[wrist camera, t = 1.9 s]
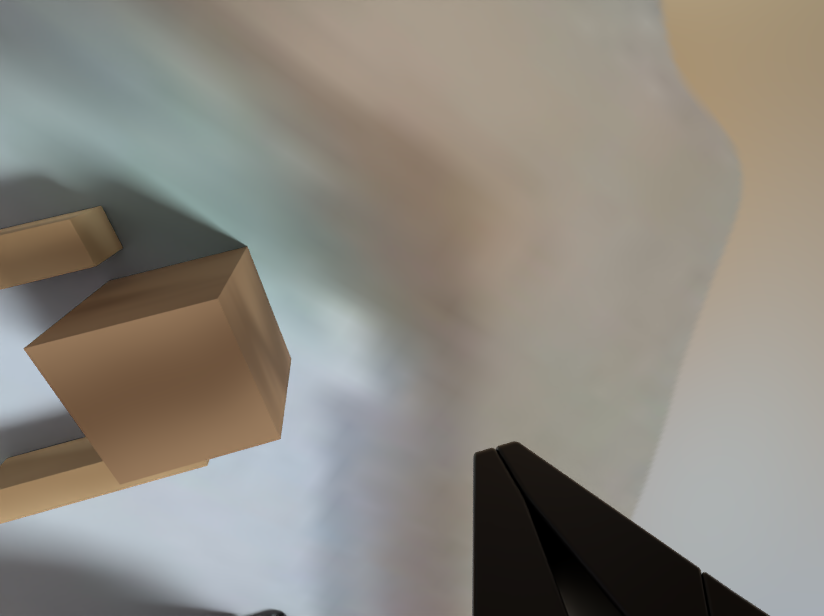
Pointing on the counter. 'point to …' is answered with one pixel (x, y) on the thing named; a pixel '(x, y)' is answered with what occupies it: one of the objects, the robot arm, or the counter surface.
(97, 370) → the walnut block
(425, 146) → the counter surface
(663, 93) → the counter surface
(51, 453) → the tunnel walls
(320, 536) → the counter surface
